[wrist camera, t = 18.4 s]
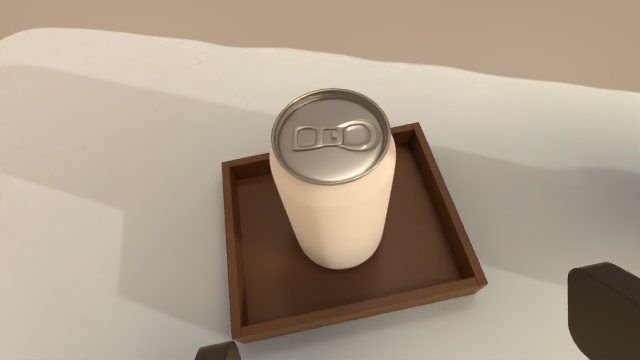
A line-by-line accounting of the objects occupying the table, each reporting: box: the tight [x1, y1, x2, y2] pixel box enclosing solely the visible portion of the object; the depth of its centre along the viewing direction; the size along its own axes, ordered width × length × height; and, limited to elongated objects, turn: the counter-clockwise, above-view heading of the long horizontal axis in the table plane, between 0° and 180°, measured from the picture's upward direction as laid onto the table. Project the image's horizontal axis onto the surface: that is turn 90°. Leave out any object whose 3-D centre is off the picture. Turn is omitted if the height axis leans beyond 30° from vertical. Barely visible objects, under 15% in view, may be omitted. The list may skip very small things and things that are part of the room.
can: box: [270, 88, 396, 269], centre depth 22 cm, size 6×6×12 cm
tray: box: [222, 122, 488, 344], centre depth 26 cm, size 16×13×3 cm
